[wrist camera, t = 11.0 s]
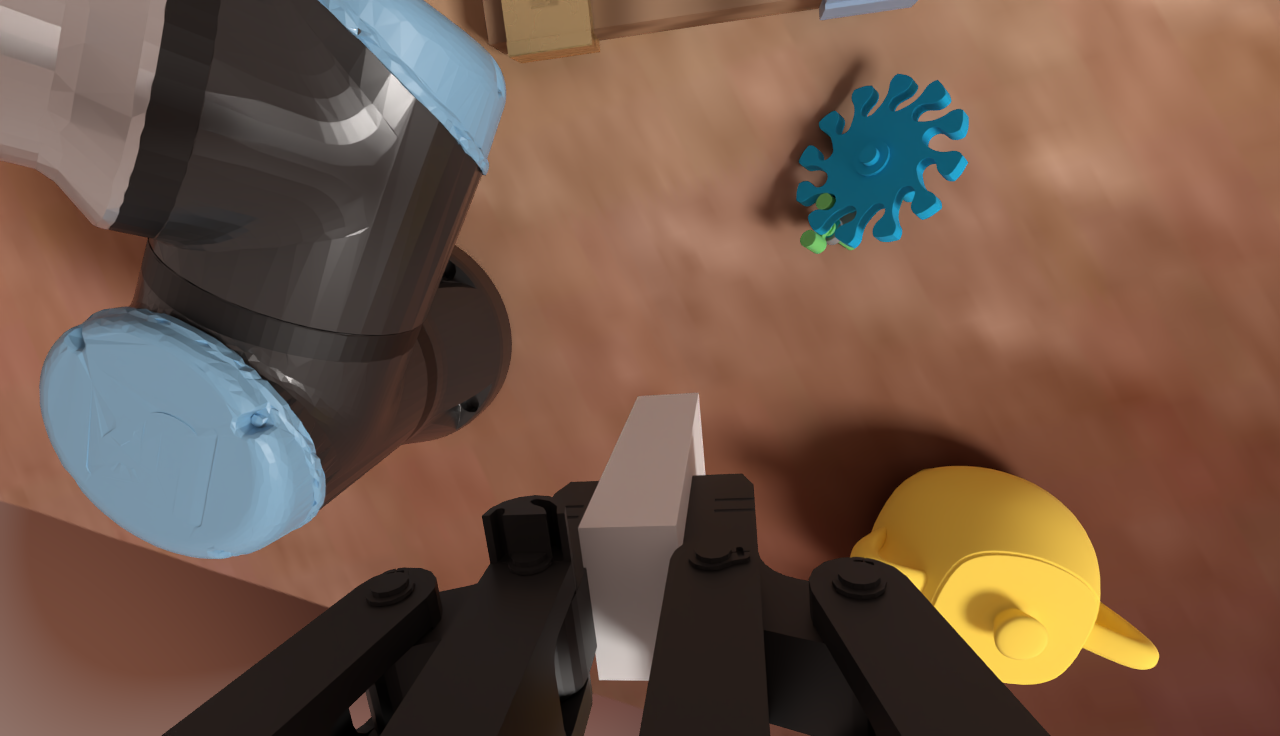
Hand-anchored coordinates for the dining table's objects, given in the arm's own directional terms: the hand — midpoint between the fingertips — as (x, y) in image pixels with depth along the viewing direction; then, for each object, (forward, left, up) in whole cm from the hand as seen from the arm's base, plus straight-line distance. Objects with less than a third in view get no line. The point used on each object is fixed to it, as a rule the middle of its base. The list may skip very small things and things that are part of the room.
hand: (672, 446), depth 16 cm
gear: (+10, +6, -30) cm, 32 cm away
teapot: (+15, -21, -30) cm, 39 cm away
